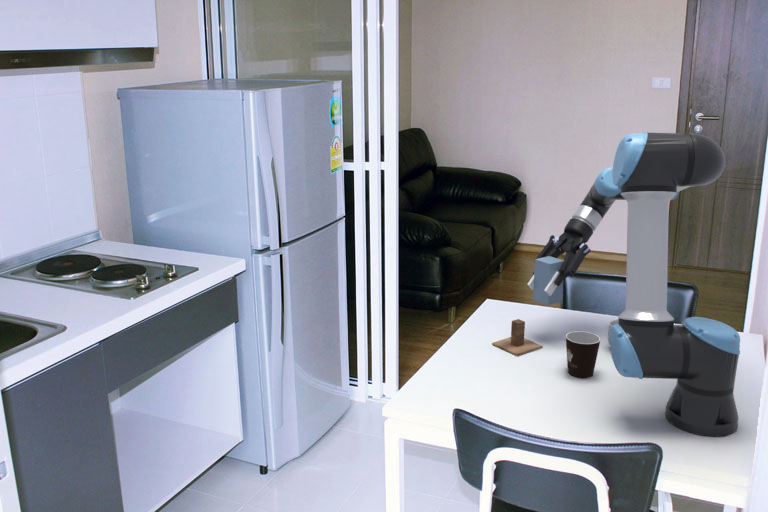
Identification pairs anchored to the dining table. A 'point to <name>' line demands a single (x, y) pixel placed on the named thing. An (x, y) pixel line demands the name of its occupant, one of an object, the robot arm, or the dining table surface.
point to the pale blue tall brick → (546, 280)
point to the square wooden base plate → (517, 340)
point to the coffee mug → (581, 353)
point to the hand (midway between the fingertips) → (538, 290)
